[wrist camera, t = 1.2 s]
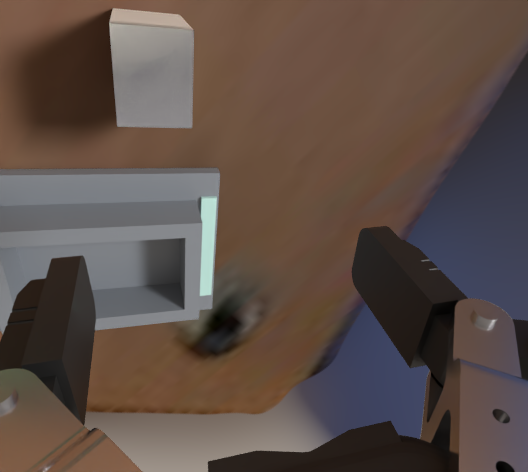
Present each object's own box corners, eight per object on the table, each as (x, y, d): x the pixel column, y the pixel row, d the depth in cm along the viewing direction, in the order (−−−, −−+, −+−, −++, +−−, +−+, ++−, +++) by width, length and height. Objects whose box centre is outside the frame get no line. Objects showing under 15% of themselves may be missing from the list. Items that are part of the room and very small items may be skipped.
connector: (118, 92, 28) (117, 126, 22) (112, 8, 25) (109, 23, 20) (179, 94, 29) (191, 128, 23) (179, 14, 26) (193, 30, 21)
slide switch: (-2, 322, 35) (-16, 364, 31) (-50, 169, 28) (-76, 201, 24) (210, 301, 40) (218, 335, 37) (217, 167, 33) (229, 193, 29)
